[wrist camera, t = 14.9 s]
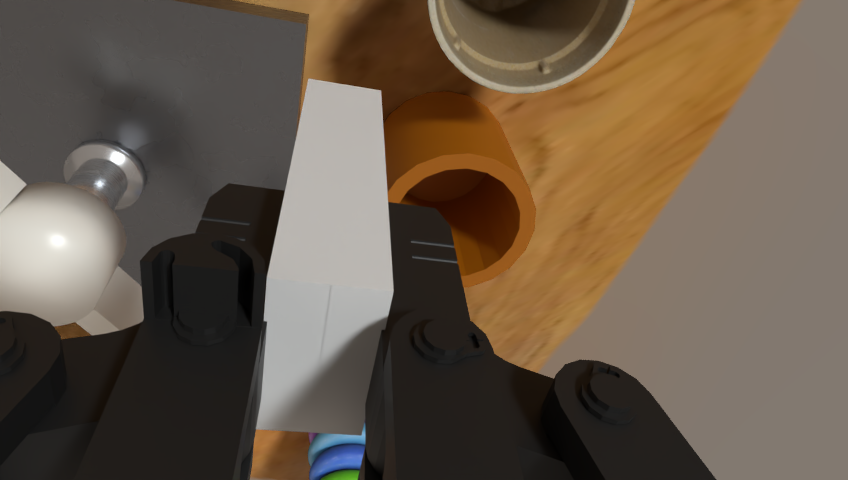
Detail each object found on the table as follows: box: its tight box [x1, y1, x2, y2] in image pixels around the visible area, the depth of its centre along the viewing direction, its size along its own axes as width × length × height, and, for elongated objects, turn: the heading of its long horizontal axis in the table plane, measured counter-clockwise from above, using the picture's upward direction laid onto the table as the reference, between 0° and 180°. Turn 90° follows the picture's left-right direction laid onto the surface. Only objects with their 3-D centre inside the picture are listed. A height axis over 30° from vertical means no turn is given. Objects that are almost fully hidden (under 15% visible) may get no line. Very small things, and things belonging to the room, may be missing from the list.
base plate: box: [0, 0, 309, 287], centre depth 34 cm, size 22×22×13 cm
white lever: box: [0, 161, 144, 335], centre depth 32 cm, size 18×6×4 cm, turn 29°
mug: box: [383, 91, 536, 288], centre depth 38 cm, size 9×12×9 cm
